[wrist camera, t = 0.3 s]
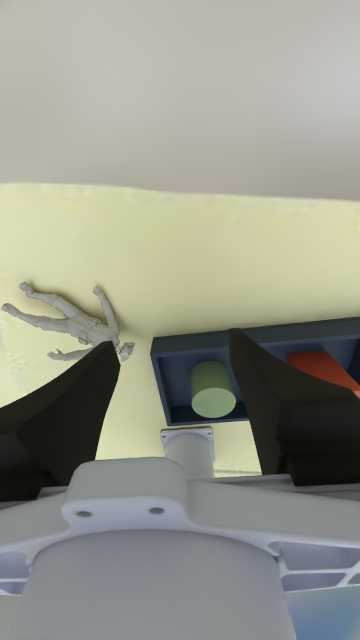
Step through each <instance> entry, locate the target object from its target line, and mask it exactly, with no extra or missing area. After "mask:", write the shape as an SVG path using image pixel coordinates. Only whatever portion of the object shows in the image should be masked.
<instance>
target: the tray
mask: <svg viewBox="0 0 360 640" xmlns="http://www.w3.org/2000/svg"><path fill="white" fill-rule="evenodd" d="M241 330H242V331H243V332H244V333H245V334H246V335H248V336H249V337H250V338H251V339H252V340H253V341H255V342H256V343H257V344H258V345H259V346H261V347H262V348H263V349H265V350H266V351H268V352H269V353H271V354H272V355H274V356H275V357H277V358H278V359H280V360H282V361H283V362H285V363H286V362H287V356H288V354H295V353H306V352H317V351H327V352H328V353H329V354H330V355H331V357H332V358H333V359H334V360H335V361H336V362H337V363H338V364H339V365H340V366H341V367H342V368H343V369H344V370H345V371H346V372H347V373H348V374H349V375H350V376H351V377H352V378H353V379H354V381H355V382H356V383H357V384H358V385H359V386H360V317H353V318H343V319H333V320H324V321H314V322H304V323H294V324H284V325H274V326H265V327H255V328H245V329H241ZM150 356H151V360H152V364H153V368H154V372H155V376H156V381H157V385H158V389H159V393H160V397H161V401H162V405H163V409H164V413H165V418H166V422H167V426H181V425H194V424H208V423H221V422H234V421H248V420H249V417H248V413H247V409H246V406H245V403H244V400H243V398H242V395H241V392H240V390H239V387H238V384H237V382H236V379H235V376H234V374H233V371H232V367H231V363H230V358H229V330H225V331H215V332H206V333H196V334H186V335H176V336H166V337H156V338H153V342H152V347H151V352H150ZM208 360H213V361H218V362H220V363H222V364H223V365H225V367H226V368H227V370H228V373H229V377H230V380H231V384H232V387H233V391H234V395H235V398H236V404H235V407H234V408H233V410H232V411H231V412H230V413H228V414H226V415H224V416H221V417H216V418H208V417H204V416H201V415H199V414H197V413H196V412H195V411H194V409H193V408H192V402H191V383H190V373H191V370H192V369H193V367H194V366H195V365H197V364H198V363H200V362H203V361H208Z"/></svg>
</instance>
